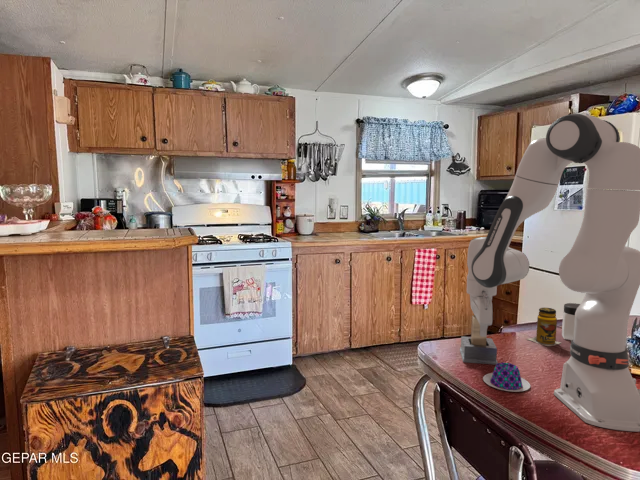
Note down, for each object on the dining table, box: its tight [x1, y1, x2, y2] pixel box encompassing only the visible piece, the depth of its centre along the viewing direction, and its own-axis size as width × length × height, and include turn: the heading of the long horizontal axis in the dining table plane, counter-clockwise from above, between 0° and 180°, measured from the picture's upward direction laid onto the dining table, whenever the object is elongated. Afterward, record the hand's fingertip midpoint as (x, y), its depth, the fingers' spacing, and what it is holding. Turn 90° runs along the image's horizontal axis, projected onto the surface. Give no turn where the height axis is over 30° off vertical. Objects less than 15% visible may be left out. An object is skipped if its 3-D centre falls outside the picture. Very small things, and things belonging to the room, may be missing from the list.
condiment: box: [526, 307, 561, 347], centre depth 151 cm, size 7×8×12 cm
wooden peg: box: [470, 315, 488, 346], centre depth 136 cm, size 4×4×12 cm
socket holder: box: [459, 336, 499, 366], centre depth 137 cm, size 10×10×5 cm
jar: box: [561, 302, 581, 342], centre depth 155 cm, size 9×8×12 cm
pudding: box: [482, 362, 531, 393], centre depth 118 cm, size 12×12×5 cm
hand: (480, 331), depth 136 cm, fingers open, 8 cm apart
